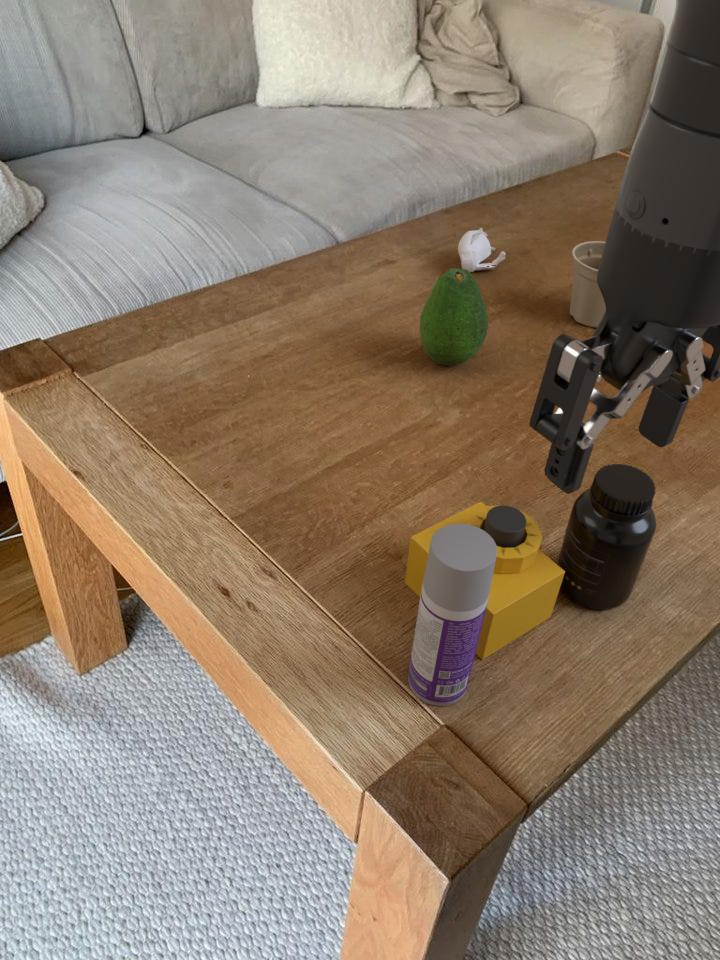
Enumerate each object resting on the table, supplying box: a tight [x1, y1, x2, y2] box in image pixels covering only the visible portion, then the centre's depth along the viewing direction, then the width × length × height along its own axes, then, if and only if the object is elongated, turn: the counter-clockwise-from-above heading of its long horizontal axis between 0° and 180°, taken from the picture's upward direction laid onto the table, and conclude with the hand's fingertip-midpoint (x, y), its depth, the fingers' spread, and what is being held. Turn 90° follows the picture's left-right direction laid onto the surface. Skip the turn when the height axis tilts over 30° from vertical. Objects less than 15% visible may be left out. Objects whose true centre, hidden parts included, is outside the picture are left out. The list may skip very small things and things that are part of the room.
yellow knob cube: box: [404, 501, 565, 661], centre depth 68 cm, size 10×8×8 cm
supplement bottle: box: [556, 463, 657, 611], centre depth 69 cm, size 7×7×12 cm
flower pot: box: [569, 240, 606, 329], centre depth 107 cm, size 9×9×9 cm
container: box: [407, 524, 497, 707], centre depth 59 cm, size 5×5×15 cm
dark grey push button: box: [484, 505, 526, 548], centre depth 66 cm, size 3×3×2 cm
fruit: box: [419, 267, 489, 366], centre depth 95 cm, size 8×8×12 cm
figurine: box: [457, 227, 506, 273], centre depth 118 cm, size 6×6×12 cm
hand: (609, 460), depth 51 cm, fingers open, 8 cm apart
